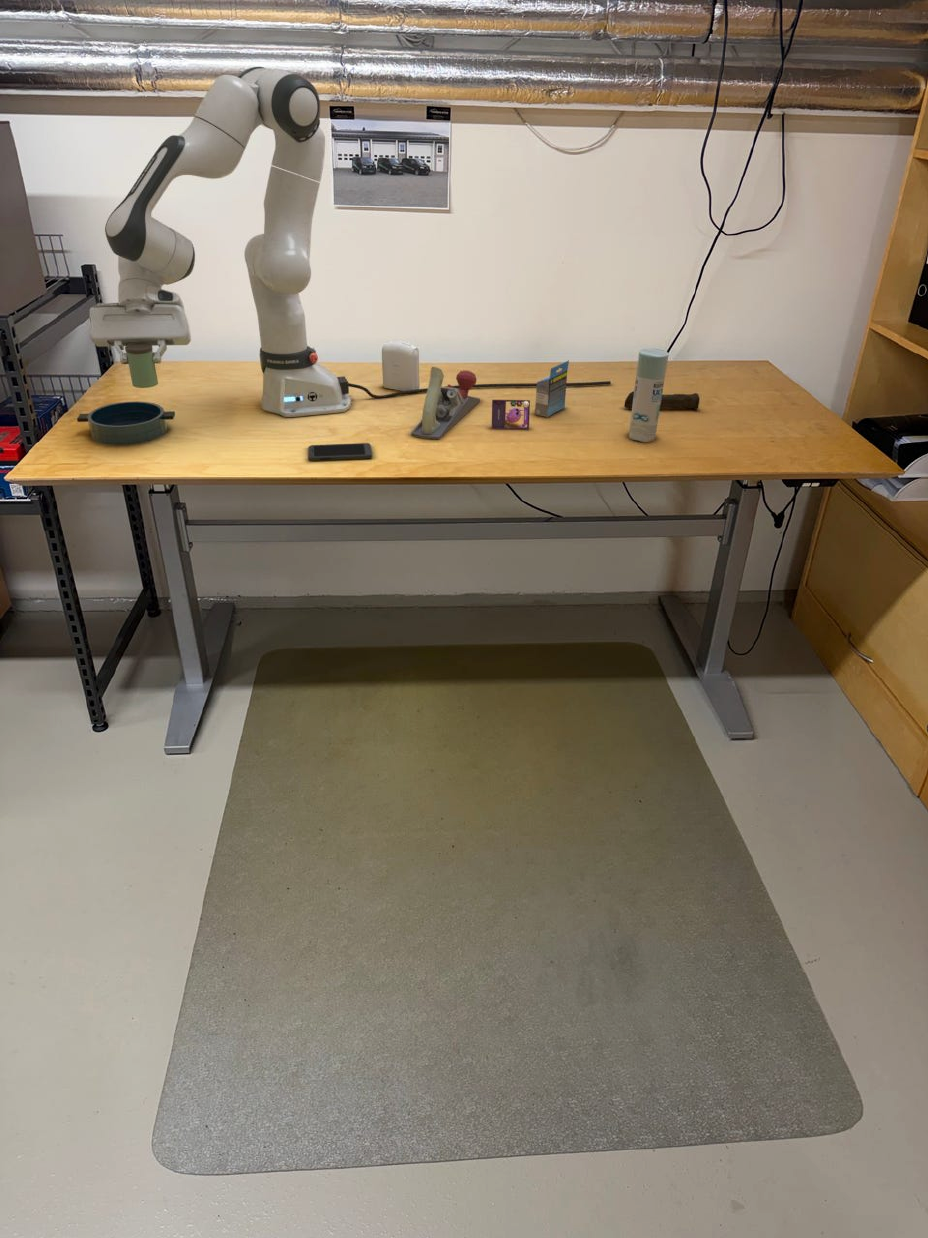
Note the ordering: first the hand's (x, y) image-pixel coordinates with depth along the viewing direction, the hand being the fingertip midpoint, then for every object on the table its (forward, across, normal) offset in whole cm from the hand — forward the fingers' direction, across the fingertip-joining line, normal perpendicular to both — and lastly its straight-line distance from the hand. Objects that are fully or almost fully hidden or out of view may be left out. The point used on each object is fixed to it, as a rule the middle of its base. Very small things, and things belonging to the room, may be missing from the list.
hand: (141, 362), depth 181 cm
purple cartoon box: (+8, +81, +19) cm, 84 cm away
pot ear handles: (+4, -8, +19) cm, 20 cm away
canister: (+3, 0, +4) cm, 5 cm away
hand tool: (+3, +122, +25) cm, 125 cm away
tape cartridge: (+2, +93, +26) cm, 97 cm away
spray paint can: (+15, +111, +12) cm, 113 cm away
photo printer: (-12, +57, +40) cm, 71 cm away
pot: (+6, -8, +21) cm, 23 cm away
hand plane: (+3, +67, +24) cm, 71 cm away
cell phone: (+18, +40, +9) cm, 45 cm away
